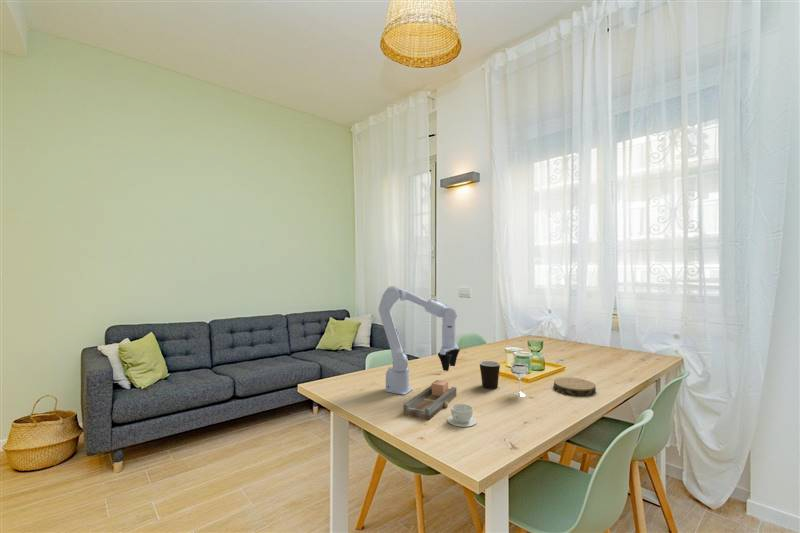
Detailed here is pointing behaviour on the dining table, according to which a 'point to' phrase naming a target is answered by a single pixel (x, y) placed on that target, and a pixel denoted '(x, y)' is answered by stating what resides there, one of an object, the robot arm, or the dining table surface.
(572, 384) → the wood slice
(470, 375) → the dining table surface
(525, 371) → the wineglass
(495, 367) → the coffee mug
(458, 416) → the teacup
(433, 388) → the salmon orange block
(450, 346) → the robot arm
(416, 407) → the grey rectangular tray
